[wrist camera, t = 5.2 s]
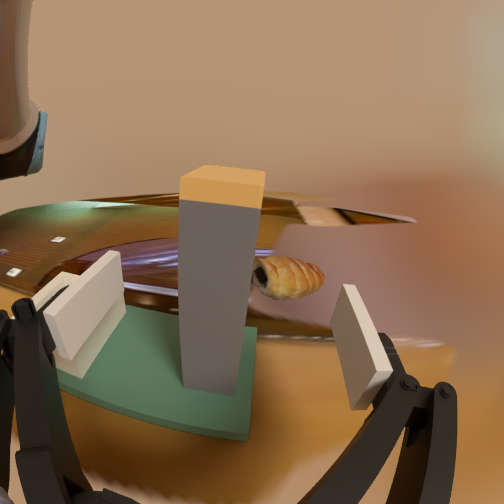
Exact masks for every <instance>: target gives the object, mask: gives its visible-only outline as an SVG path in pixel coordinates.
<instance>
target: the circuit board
mask: <svg viewBox="0 0 504 504" xmlns="http://www.w3.org/2000/svg"><path fill="white" fill-rule="evenodd" d="M125 308H126V313H125V315H124V316H123V317H122V319H121V320H120V322H119V323H118V325H117V326H116V328H115V329H114V331H113V332H112V334H111V335H110V337H109V338H108V340H107V341H106V343H105V344H104V346H103V347H102V349H101V350H100V352H99V353H98V355H97V356H96V358H95V359H94V361H93V363H92V364H91V366H90V367H89V369H88V370H87V372H86V374H85V375H84V377H83V379H81V378H78V377H76V376H74V375H71V374H69V373H67V372H64V371H62V370H60V369H58V368H56V371H57V377H58V384H59V389H61V390H63V391H65V392H67V393H69V394H72V395H74V396H76V397H78V398H81V399H83V400H85V401H88V402H90V403H93V404H95V405H98V406H100V407H103V408H105V409H108V410H111V411H114V412H117V413H119V414H122V415H125V416H128V417H132V418H135V419H138V420H141V421H145V422H148V423H152V424H155V425H159V426H163V427H167V428H171V429H175V430H180V431H184V432H189V433H194V434H199V435H205V436H211V437H217V438H223V439H231V440H239V441H247V440H248V436H249V430H250V417H251V405H252V392H253V379H254V365H255V352H256V338H257V328H255V327H248V326H245V327H244V335H243V342H242V349H241V356H240V363H239V370H238V377H237V384H236V391H235V396H228V395H222V394H215V393H209V392H204V391H198V390H193V389H188V388H184V386H183V375H182V362H181V347H180V330H179V316H178V315H173V314H168V313H163V312H158V311H153V310H148V309H143V308H139V307H134V306H130V305H125Z"/></svg>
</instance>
